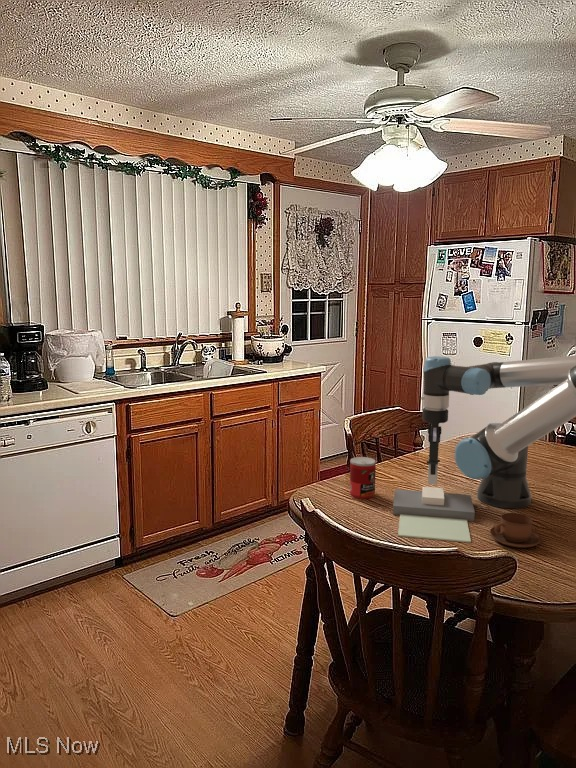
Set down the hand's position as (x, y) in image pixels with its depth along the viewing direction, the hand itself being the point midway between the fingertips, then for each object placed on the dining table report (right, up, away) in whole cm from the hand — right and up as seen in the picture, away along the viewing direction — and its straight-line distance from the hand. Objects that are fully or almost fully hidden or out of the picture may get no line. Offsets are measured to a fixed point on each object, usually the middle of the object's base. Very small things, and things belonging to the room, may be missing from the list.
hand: (432, 483), depth 177 cm
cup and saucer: (+13, -9, -31) cm, 35 cm away
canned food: (-21, -4, +2) cm, 22 cm away
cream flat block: (-2, -3, -9) cm, 10 cm away
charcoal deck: (-2, -6, -10) cm, 11 cm away
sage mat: (-6, -8, -24) cm, 26 cm away
